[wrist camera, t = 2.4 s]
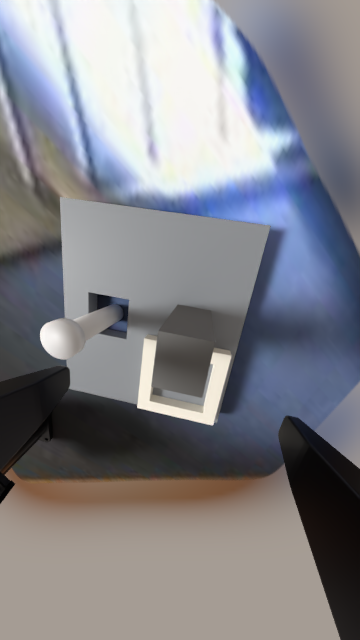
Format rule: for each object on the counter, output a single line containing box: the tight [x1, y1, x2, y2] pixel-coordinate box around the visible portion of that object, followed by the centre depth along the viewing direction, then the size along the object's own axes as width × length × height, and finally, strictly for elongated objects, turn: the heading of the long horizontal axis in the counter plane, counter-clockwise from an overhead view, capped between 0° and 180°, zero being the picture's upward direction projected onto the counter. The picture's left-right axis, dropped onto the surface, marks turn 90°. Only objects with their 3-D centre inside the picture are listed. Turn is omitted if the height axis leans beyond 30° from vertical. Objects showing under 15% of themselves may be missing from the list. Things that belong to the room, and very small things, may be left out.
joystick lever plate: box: [137, 305, 232, 426], centre depth 14 cm, size 11×8×7 cm
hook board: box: [40, 197, 270, 423], centre depth 15 cm, size 19×17×8 cm
